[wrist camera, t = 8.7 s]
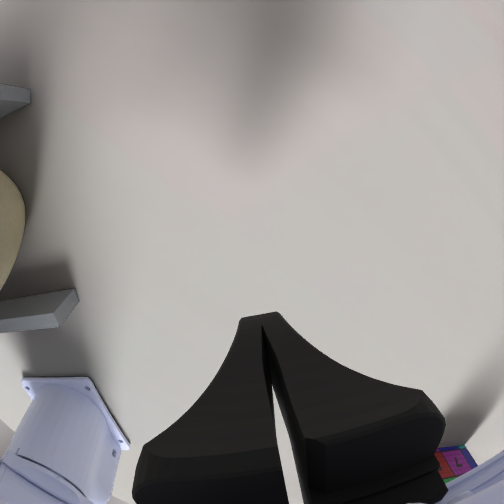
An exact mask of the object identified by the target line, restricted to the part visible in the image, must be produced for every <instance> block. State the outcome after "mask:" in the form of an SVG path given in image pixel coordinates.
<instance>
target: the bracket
mask: <svg viewBox="0 0 504 504" xmlns="http://www.w3.org/2000/svg"><path fill="white" fill-rule="evenodd" d="M29 103H31V98H30V89H27V88H22V87H16V86H10V85H5V84H0V118H1V117H3V116H5V115H7V114H9V113H11V112H13V111H15V110H17V109H19V108H21V107H23V106H25V105H27V104H29ZM78 302H79V299H78V296H77V294H76V291H75V288H74V289H68V290H62V291H56V292H50V293H45V294H39V295H33V296H27V297H21V298H15V299H9V300H3V301H0V333H5V332H17V331H27V330H38V329H47V328H57V327H60V326H61V325H62V323H63V322H64V321H65V319H66V318H67V317H68V315H69V314H70V313H71V311H72V310H73V309H74V307H75V306H76V305H77V304H78Z"/></svg>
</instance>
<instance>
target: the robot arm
mask: <svg viewBox="0 0 504 504" xmlns="http://www.w3.org/2000/svg"><path fill="white" fill-rule="evenodd" d="M21 383H22V385H23V387H24V388H25V390H26V391H27V393H28V395H29V396H30V398H31V399H32V402H31V404H30V406H29V408H28V409H27V411H26V413H25V415H24V417H23V419H22V420H21V422H20V424H19V426H18V428H17V430H16V432H15V434H14V436H13V438H12V440H11V441H10V443H9V446H8V448H7V450H6V452H5V454H4V455H3V456H2V457H0V504H106V503H107V502H108V501H109V499H110V497H111V494H112V490H113V485H114V481H115V476H116V471H117V467H118V463H119V458H120V454H121V450H129V449H130V444H129V442H128V441H127V439H126V438H125V436H124V435H123V433H122V432H121V430H120V429H119V427H118V426H117V424H116V422H115V421H114V419H113V418H112V416H111V414H110V413H109V411H108V409H107V408H106V406H105V404H104V403H103V401H102V399H101V397H100V396H99V394H98V392H97V390H96V388H95V387H94V385H93V383H92V381H91V380H90V379H89V378H87V377H60V378H23V379H22V380H21ZM87 386H88V387H87ZM272 386H273V389H274V392H275V395H276V398H277V401H278V404H279V407H280V410H281V413H282V416H283V419H284V422H285V425H286V428H287V431H288V434H289V438H290V442H291V446H292V451H293V455H294V460H295V464H296V469H297V474H298V478H299V483H300V488H301V492H302V497H303V502H304V504H504V450H503V451H501V452H500V453H498V454H497V455H495V456H494V457H492V458H491V459H489V460H487V461H486V462H484V463H482V464H481V465H479V466H477V467H476V468H474V469H472V470H470V471H469V472H467V473H465V474H463V475H461V476H459V477H457V478H456V479H454V480H452V481H450V482H448V483H446V484H445V483H444V481H443V479H442V477H441V475H440V474H439V472H438V470H437V469H439V467H440V463H439V461H438V460H437V458H436V456H435V455H434V454H435V452H436V450H437V447H438V445H439V443H440V441H441V438H442V436H443V433H444V429H445V425H446V424H445V419H444V417H443V415H442V414H441V412H440V411H439V410H438V408H437V407H436V405H435V404H434V403H433V402H432V401H431V399H430V398H429V397H428V396H427V395H426V394H425V393H424V392H423V391H422V390H418V389H413V388H408V387H403V386H398V385H393V384H390V383H386V382H383V381H380V380H377V379H373V378H371V377H368V376H365V375H363V374H360V373H358V372H356V371H354V370H351V369H349V368H347V367H345V366H343V365H341V364H339V363H338V362H336V361H334V360H332V359H331V358H329V357H328V356H326V355H325V354H323V353H322V352H320V351H319V350H318V349H316V348H315V347H314V346H312V345H311V344H310V343H309V342H308V341H306V340H305V339H304V338H303V337H302V336H301V335H300V334H298V333H297V332H296V331H295V330H294V329H293V328H292V327H291V326H290V325H289V324H288V323H287V322H286V320H285V319H284V318H283V317H282V316H281V314H280V313H278V312H271V313H266V314H261V315H255V316H249V317H244V318H241V320H240V321H239V325H238V329H237V332H236V335H235V338H234V341H233V343H232V345H231V347H230V350H229V352H228V354H227V356H226V358H225V360H224V362H223V364H222V366H221V367H220V369H219V371H218V373H217V374H216V376H215V377H214V379H213V380H212V382H211V383H210V385H209V386H208V387H207V389H206V390H205V391H204V393H203V394H202V395H201V396H200V397H199V399H198V400H197V401H196V402H195V403H194V404H193V406H192V407H191V408H190V409H189V410H188V411H187V412H186V413H185V414H184V415H182V416H181V417H180V418H179V419H178V420H177V421H176V422H175V423H174V424H172V425H171V426H170V427H169V428H167V429H166V430H165V431H163V432H162V433H161V434H159V435H158V436H156V437H155V438H154V439H152V440H151V441H149V442H148V443H146V444H145V445H144V446H143V448H142V451H141V454H140V457H139V460H138V463H137V466H136V471H135V477H134V483H133V488H132V497H133V499H134V501H135V502H136V504H289V501H288V496H287V491H286V486H285V481H284V476H283V471H282V466H281V461H280V455H279V450H278V445H277V438H276V429H275V417H274V404H273V393H272ZM89 387H90V388H89Z"/></svg>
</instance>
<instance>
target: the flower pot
mask: <svg viewBox="0 0 504 504" xmlns="http://www.w3.org/2000/svg"><path fill="white" fill-rule="evenodd" d="M24 227H25V206H24V201H23V198H22V196H21V193H20V191H19V189H18V188H17V186H16V185H15V184H14V183H13V181H12V180H11V179H10V178H9V177H8V176H7V175H6V174H4V173H3V172H2V171H1V170H0V290H1V289H2V287H3V285H4V284H5V282H6V280H7V278H8V276H9V274H10V272H11V270H12V267H13V265H14V263H15V260H16V258H17V255H18V252H19V249H20V246H21V242H22V238H23V233H24Z"/></svg>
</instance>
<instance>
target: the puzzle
mask: <svg viewBox="0 0 504 504" xmlns="http://www.w3.org/2000/svg"><path fill="white" fill-rule="evenodd" d="M434 455H435V456H436V458H437V460H438V461H439V463H440V467H439V469H437V470H438V472H439V474H440V475H441V477H442V479H443V481H444V483H445V484H446V483H448V482H450V481H452V480H454V479H456V478H457V477H459V476H461V475H463V474H465V473H467V472H469V471H470V470H472V469H474V468H476V467H477V466H478V465H477V464H476V462H475V460H474V459H473V457H472V456H471V454H470V453H469V451H468V450H467V448H466V447H465V445H462V446H454V447H445V448H437V450H436V452H435V454H434Z"/></svg>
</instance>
